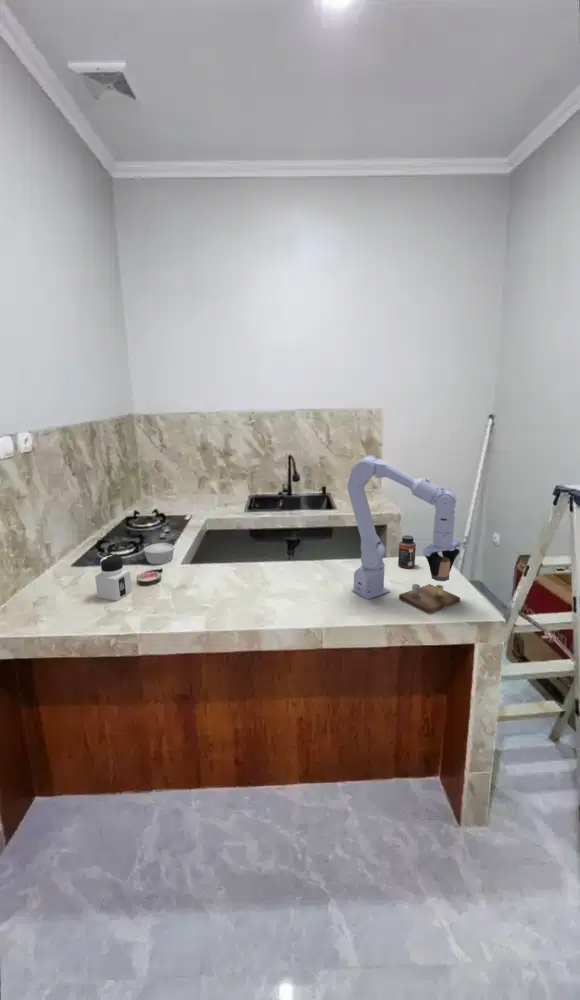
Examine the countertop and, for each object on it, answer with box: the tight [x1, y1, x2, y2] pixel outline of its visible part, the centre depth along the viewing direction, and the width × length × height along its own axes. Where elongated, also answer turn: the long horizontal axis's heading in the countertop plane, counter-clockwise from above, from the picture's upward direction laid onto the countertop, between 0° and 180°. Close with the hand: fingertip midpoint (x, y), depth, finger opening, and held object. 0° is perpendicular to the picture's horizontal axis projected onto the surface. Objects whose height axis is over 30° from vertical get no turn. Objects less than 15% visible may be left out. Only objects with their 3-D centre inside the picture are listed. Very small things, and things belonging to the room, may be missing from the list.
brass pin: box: [435, 584, 444, 598], centre depth 146 cm, size 2×2×5 cm
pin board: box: [398, 583, 461, 615], centre depth 147 cm, size 14×12×5 cm
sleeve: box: [430, 556, 451, 582], centre depth 144 cm, size 5×5×6 cm
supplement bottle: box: [397, 534, 417, 569], centre depth 173 cm, size 6×6×11 cm
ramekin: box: [143, 542, 175, 565], centre depth 183 cm, size 11×11×5 cm
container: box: [95, 554, 133, 602], centre depth 152 cm, size 8×8×13 cm
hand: (440, 573), depth 144 cm, fingers closed on sleeve, 5 cm apart
